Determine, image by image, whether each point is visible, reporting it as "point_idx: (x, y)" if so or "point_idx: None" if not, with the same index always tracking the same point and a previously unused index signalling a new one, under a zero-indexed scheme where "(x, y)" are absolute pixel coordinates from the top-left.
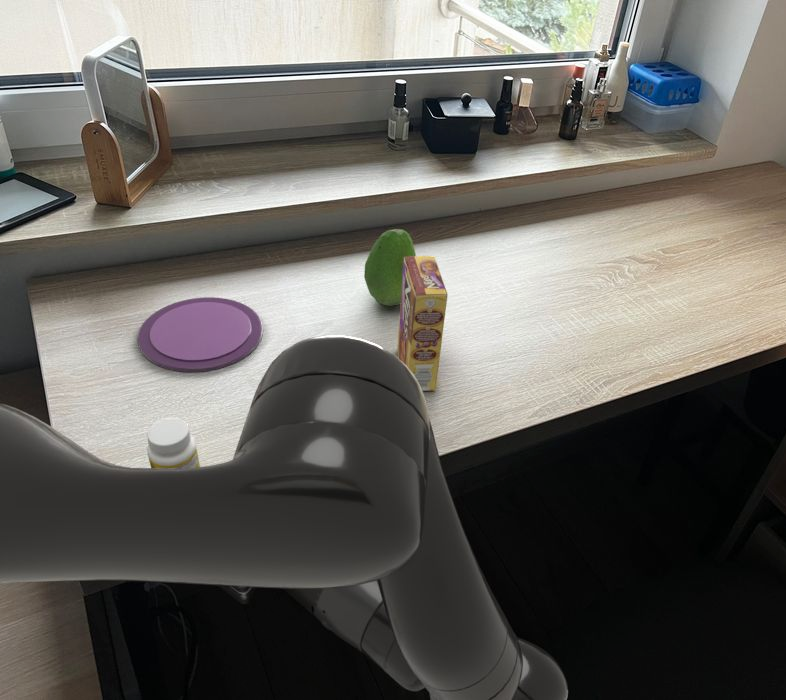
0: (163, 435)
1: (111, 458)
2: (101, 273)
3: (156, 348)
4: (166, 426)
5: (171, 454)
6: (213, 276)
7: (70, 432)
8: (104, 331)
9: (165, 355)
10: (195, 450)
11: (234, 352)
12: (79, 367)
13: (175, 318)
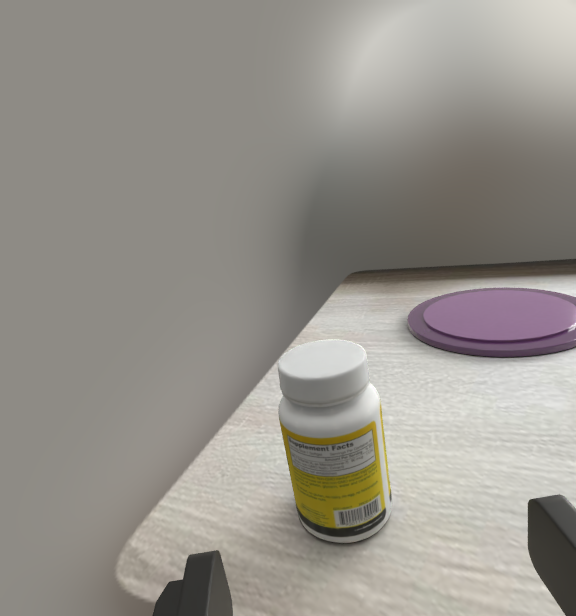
0: (306, 361)
1: None
2: (410, 270)
3: (425, 320)
4: (325, 350)
5: (309, 409)
6: (536, 276)
7: (271, 380)
8: (381, 305)
9: (433, 328)
10: (369, 425)
11: (540, 340)
12: (334, 328)
13: (466, 299)
